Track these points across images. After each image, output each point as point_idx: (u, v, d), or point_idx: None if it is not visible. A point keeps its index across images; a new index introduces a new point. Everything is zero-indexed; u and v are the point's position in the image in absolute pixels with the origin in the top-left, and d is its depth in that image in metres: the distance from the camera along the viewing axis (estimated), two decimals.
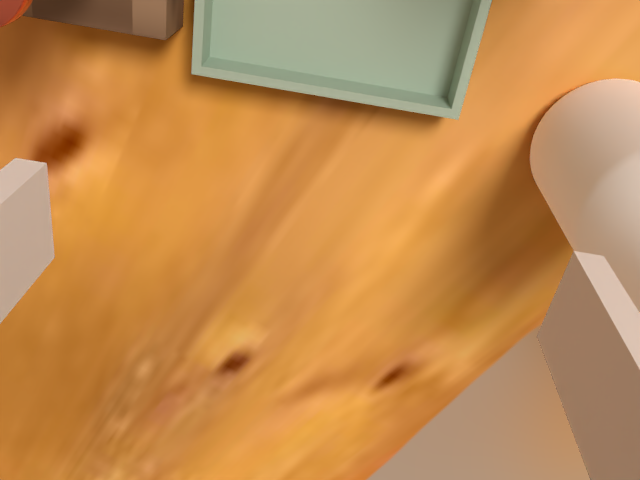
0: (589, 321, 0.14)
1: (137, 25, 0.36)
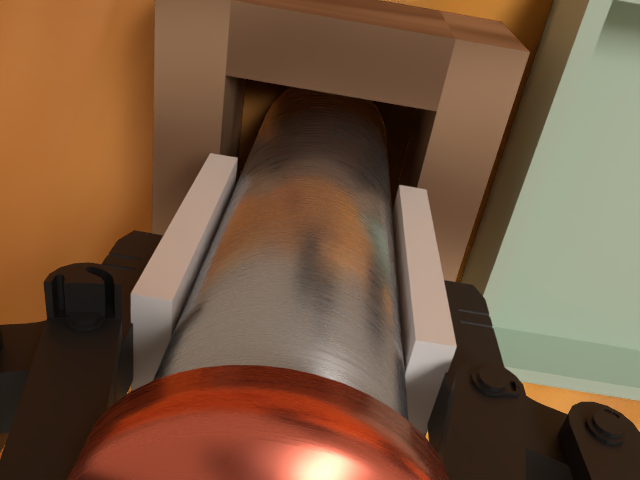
0: (397, 241, 0.15)
1: None
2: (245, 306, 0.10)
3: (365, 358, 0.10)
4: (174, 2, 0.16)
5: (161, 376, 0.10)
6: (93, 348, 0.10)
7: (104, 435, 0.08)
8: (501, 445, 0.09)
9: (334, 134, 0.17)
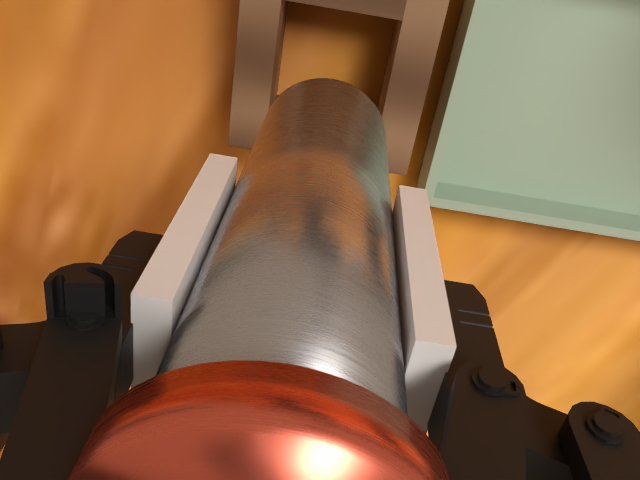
0: (397, 241, 0.15)
1: None
2: (246, 303, 0.10)
3: (365, 354, 0.10)
4: None
5: (163, 372, 0.10)
6: (93, 348, 0.10)
7: (107, 430, 0.08)
8: (501, 445, 0.09)
9: (334, 133, 0.17)
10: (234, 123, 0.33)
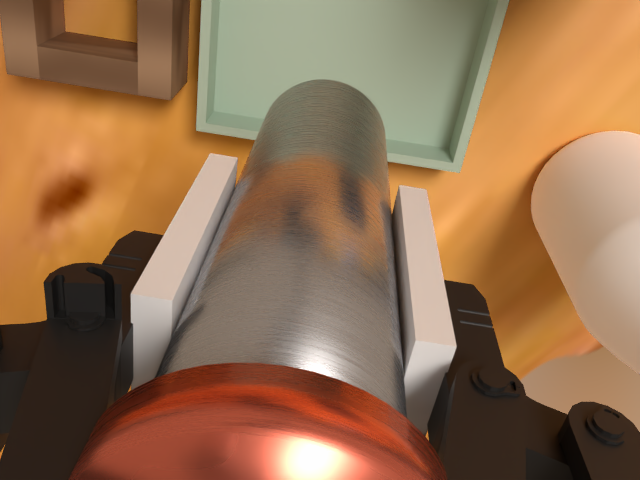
0: (397, 241, 0.15)
1: (142, 86, 0.37)
2: (245, 304, 0.10)
3: (364, 356, 0.10)
4: None
5: (162, 374, 0.10)
6: (93, 348, 0.10)
7: (107, 432, 0.08)
8: (501, 445, 0.09)
9: (334, 135, 0.17)
10: (8, 52, 0.36)
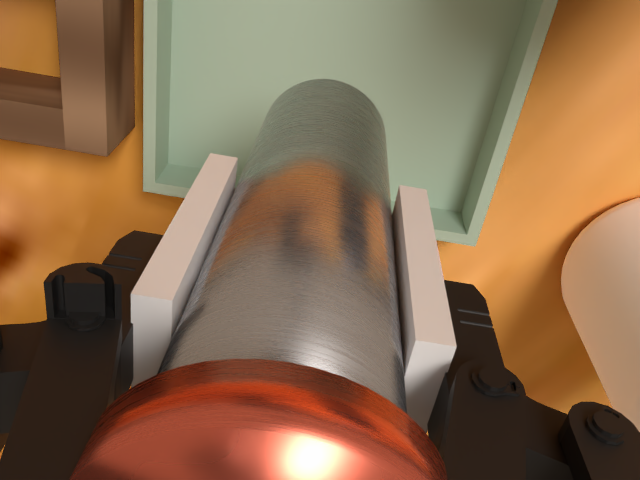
0: (397, 241, 0.15)
1: (71, 139, 0.29)
2: (247, 302, 0.10)
3: (364, 353, 0.10)
4: None
5: (164, 371, 0.10)
6: (93, 348, 0.10)
7: (110, 426, 0.08)
8: (501, 445, 0.09)
9: (334, 134, 0.17)
10: None
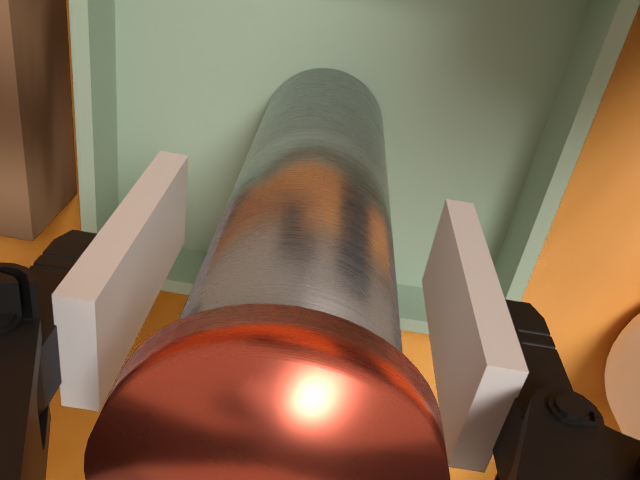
0: (448, 257, 0.15)
1: None
2: (257, 262, 0.11)
3: (364, 306, 0.11)
4: None
5: None
6: (11, 350, 0.10)
7: (139, 364, 0.09)
8: (576, 475, 0.09)
9: (334, 118, 0.18)
10: None
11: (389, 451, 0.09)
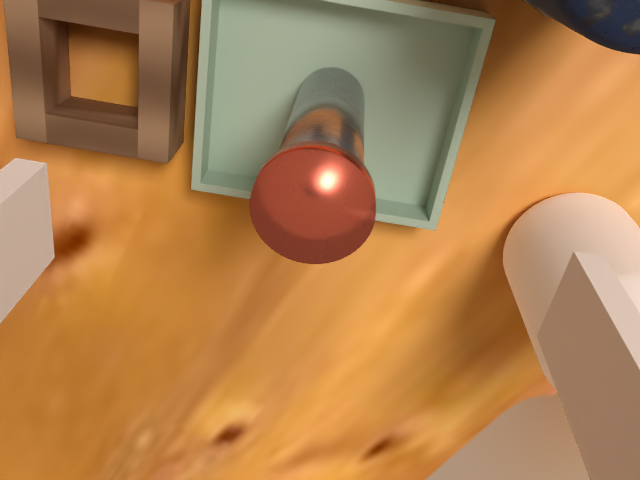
0: (589, 321, 0.14)
1: (142, 150, 0.40)
2: (307, 137, 0.29)
3: None
4: None
5: None
6: None
7: (271, 159, 0.27)
8: None
9: (337, 90, 0.36)
10: (18, 119, 0.40)
11: (354, 187, 0.26)
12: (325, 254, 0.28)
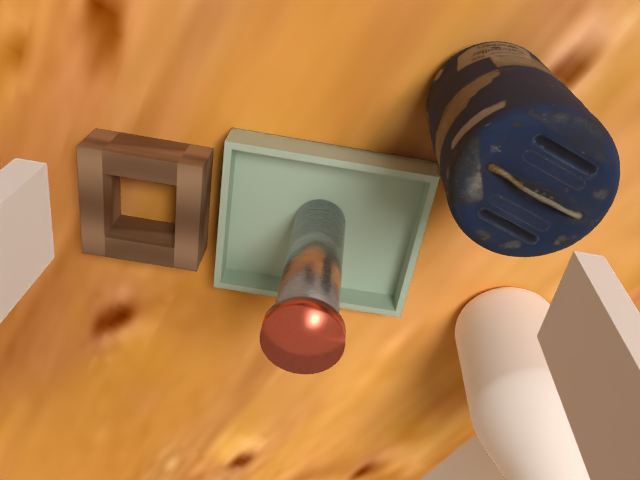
0: (589, 321, 0.14)
1: (177, 262, 0.53)
2: (299, 285, 0.42)
3: (327, 297, 0.41)
4: (83, 150, 0.48)
5: None
6: None
7: (274, 309, 0.40)
8: None
9: (323, 229, 0.49)
10: (84, 240, 0.53)
11: (330, 329, 0.39)
12: (311, 368, 0.41)
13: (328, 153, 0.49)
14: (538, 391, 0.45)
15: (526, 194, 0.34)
